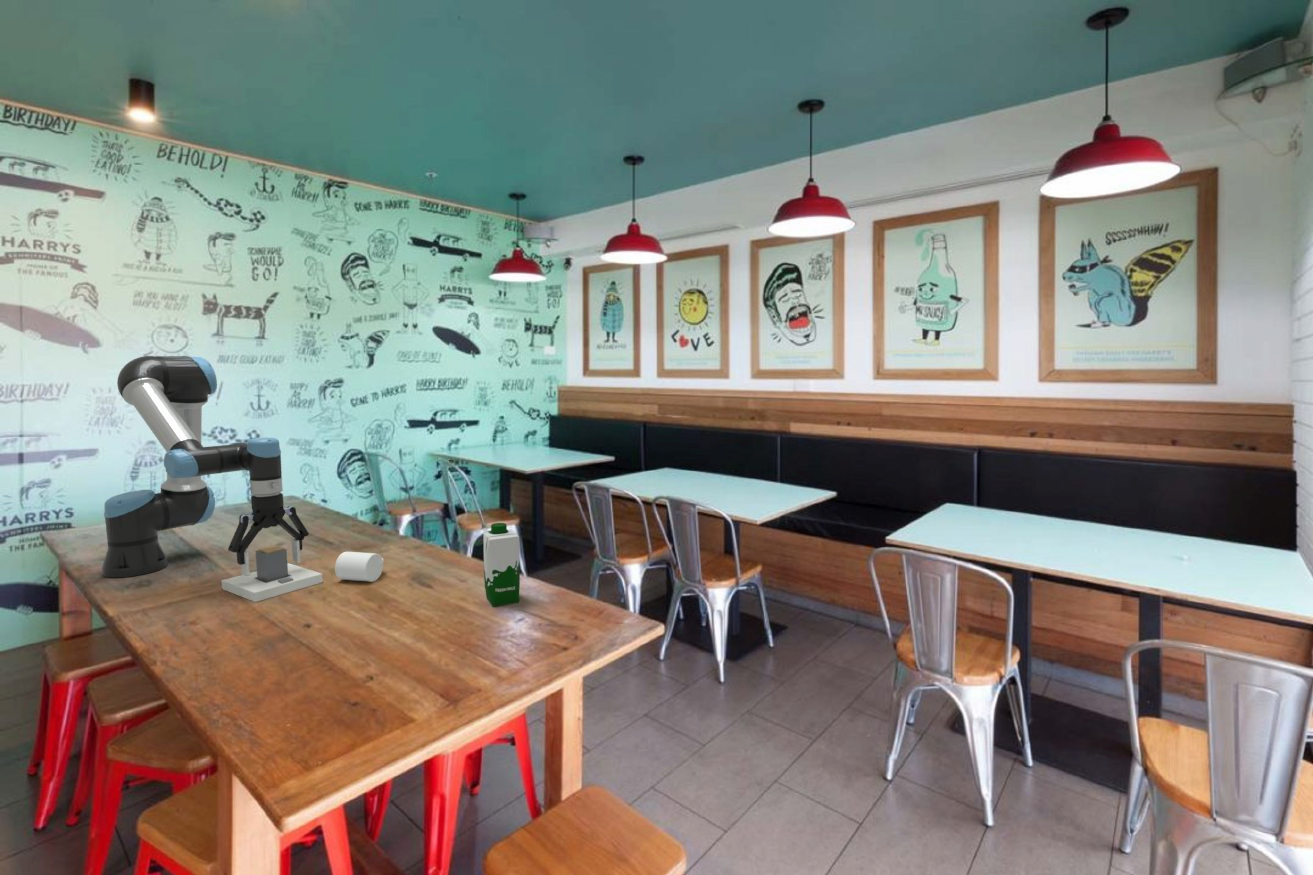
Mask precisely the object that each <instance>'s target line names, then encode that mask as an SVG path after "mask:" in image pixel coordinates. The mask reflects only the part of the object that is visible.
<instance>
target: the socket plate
mask: <svg viewBox="0 0 1313 875" xmlns="http://www.w3.org/2000/svg"><path fill="white" fill-rule="evenodd" d="M287 566H288V577H286V578H282V579H278V580H275V581H271V582H267V583H265V582H262V581H259V580H257V570H256V571H253V572H250V576H244V575H242V574H241V575H237V576H233V577H229V578H225V579H221V589H222V590H223V591H225V592H229V593H231V594H234V595H236V596H239V597H241V598H244V599H246V600H249V601H251V602H254V603H257V602H259V601H263V600H268V599H271V598H275V597H277V596H281V595H284V594H287V593H291V592H294V591H295V592H296V591H297V590H301V589H304V588H308V587H311V586H315V585H318V584H322V583H323V573H321V572H318V571H315V570H312V569H309V568H305V567H302V566H298V565H295V564H291V563H289V562H287Z"/></svg>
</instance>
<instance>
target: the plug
mask: <svg viewBox="0 0 1313 875" xmlns="http://www.w3.org/2000/svg"><path fill="white" fill-rule="evenodd" d="M287 551H288V550H287V548H284V547H283V546H279V545H275V544H274V545H269V546H265V547H262V548H257V550H255V562H256V563H255V564H256V571H257V580H259V581H262V582H265V583H267V582H271V581H275V580H278V579H282V578H286V577H288V566H287V563H288V552H287Z"/></svg>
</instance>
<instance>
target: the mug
mask: <svg viewBox="0 0 1313 875" xmlns="http://www.w3.org/2000/svg"><path fill="white" fill-rule="evenodd" d="M384 562H385V560H384V558H383V557H382V556H381V555H380V554H378V553H373V552H359V551H344V552H342V553H341V554H340V555H338V557H337V558H336V561H335V565H334V571H335V575H336V577H337V578H338V579H340V580H346V581H354V582H355V581H359V582H366V583H367V582H371V583H373V582H375V581H378V579H379V578H380V577H381V575H382V572H383V568H384Z"/></svg>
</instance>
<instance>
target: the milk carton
mask: <svg viewBox="0 0 1313 875" xmlns="http://www.w3.org/2000/svg"><path fill="white" fill-rule="evenodd" d="M507 525H508V524H507V523H505V522H496V523H492V524H491V525H490V531H486V532H485V531H484V532H483V572H484V573H483V574H484V578H483V579H484V589H485V597H486V599H487V601H488V602H489V604H490V605H491V607H493V608H495V607H501V606H505V605H510V604H517V603H520V583H521V582H520V581H521V577H520V576H521V575H520V574H521V573H520V571H521V570H520V567H521V566H520V536H519V535H518V533H517V532H515V531H514V529H512V528H509V529H507V527H508V526H507Z"/></svg>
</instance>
